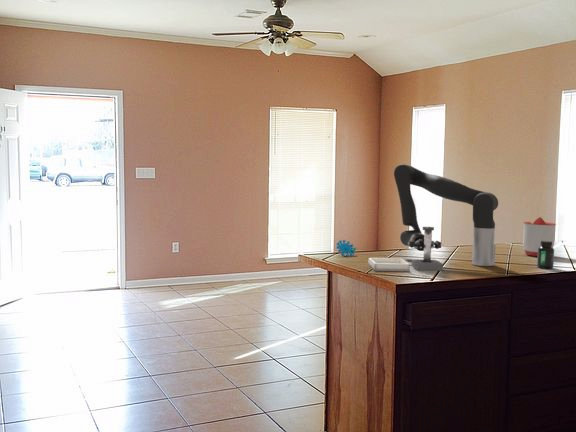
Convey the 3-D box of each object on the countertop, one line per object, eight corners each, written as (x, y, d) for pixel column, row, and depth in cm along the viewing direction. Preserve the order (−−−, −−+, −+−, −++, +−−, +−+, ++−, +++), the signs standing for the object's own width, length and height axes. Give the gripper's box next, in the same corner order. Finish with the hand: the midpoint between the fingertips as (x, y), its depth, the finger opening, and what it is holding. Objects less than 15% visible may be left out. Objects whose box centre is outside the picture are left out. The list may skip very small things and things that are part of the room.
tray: (401, 264, 279) (401, 258, 279) (409, 271, 262) (409, 264, 262) (368, 264, 279) (368, 257, 279) (374, 270, 262) (374, 263, 262)
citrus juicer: (547, 253, 328) (549, 216, 326) (558, 258, 311) (560, 218, 309) (517, 252, 330) (519, 215, 328) (526, 257, 312) (528, 217, 311)
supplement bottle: (543, 269, 276) (545, 242, 275) (533, 266, 282) (535, 240, 281) (556, 268, 278) (558, 242, 277) (546, 266, 284) (547, 240, 283)
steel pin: (430, 267, 274) (432, 226, 272) (433, 269, 269) (435, 227, 267) (419, 267, 273) (421, 226, 272) (422, 269, 269) (424, 227, 267)
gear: (339, 253, 298) (335, 237, 305) (334, 261, 303) (331, 245, 309) (359, 256, 302) (355, 240, 308) (354, 263, 306) (351, 247, 312)
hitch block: (435, 266, 277) (436, 259, 276) (442, 270, 266) (442, 263, 266) (411, 266, 276) (411, 259, 276) (417, 270, 265) (417, 263, 265)
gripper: (404, 233, 284) (412, 237, 268) (435, 233, 284) (445, 238, 268) (403, 249, 285) (412, 254, 268) (434, 249, 285) (444, 255, 269)
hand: (428, 246), depth 268 cm, fingers open, 7 cm apart
